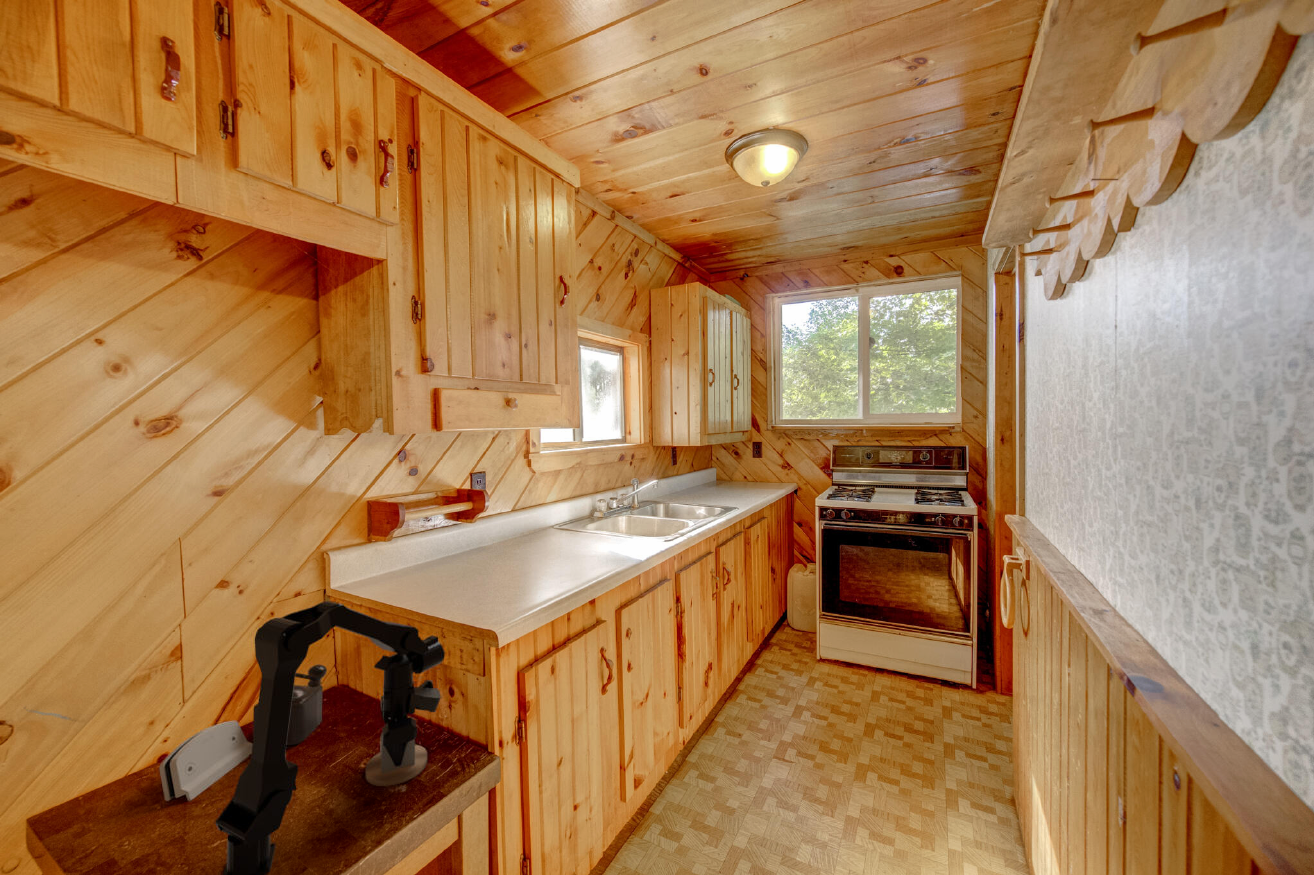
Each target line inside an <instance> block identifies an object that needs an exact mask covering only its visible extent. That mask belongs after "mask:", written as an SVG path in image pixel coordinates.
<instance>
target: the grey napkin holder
mask: <svg viewBox="0 0 1314 875" xmlns="http://www.w3.org/2000/svg"><path fill="white" fill-rule="evenodd" d="M246 738H247V737H246V736H245V735H244V732H243V730H242V728H241V726H240V724H239V722H238V721H237V720H230V721H229V720H228V721H225V722H221V723H218V724H215V725H212V726H209V727H207V728H204V729H203V730H200V731H199V732H197V733H195V734H194V735H192V736H190V737H188V738H187V739H186V740H184V741H183V742H181V743H180V744H179V745H178V746H177V747H175V748H174V749H173V751H171V752H170V753H169V754H168V755H166V757H165V758H164V760H162V762H161V763H160V765H159V768H158V769H159V773H160V774H159V775H160V779H161V785H162V790H163V796H164V801H166V802H168V801H170V800H172V799H173V798H176V799H177V798H180V797H182V796H186V799H187V801H188V802H190V801H192V800H193V799H195V798H196V797H198V796H199V795H200V794H202V792H204V791H205V790H206V789H208V788H209V787H211V786H212V785H213V784H214V783H216V782H218V780H219V779H220V780H221V778H222V777H223V776H225V775H227V773H229V772H230V771H231V770H233V769H234V768H235V767H237V766H238V765H239V764H241V762H243V761H245V760H246V759H247V758H248V757H250V756H251V755H252V754H251V753H252V747H253V742H250V741H248V740H247V739H246ZM250 754H251V755H250ZM249 755H250V756H249Z"/></svg>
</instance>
